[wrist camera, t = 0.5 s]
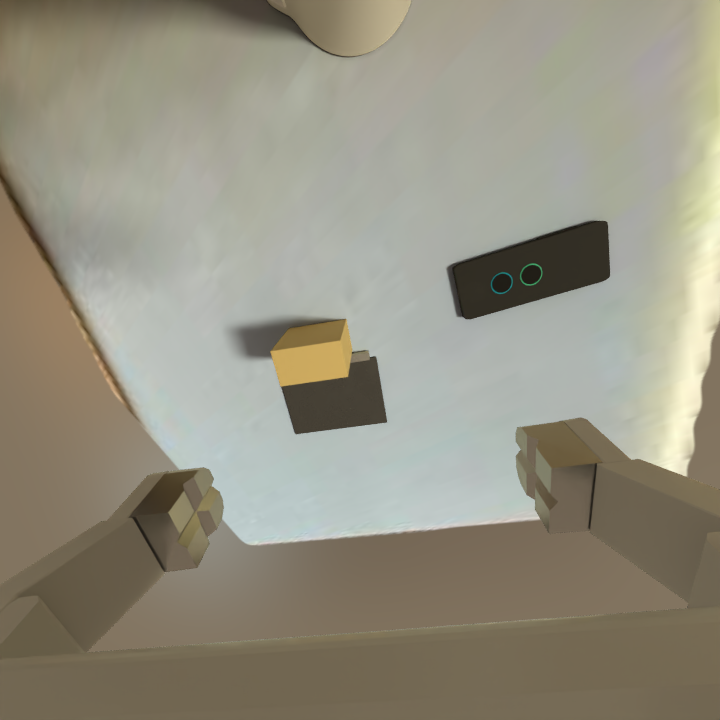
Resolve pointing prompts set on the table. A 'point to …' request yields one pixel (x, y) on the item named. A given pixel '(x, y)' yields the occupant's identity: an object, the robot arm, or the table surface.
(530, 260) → the smart home device
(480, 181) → the table surface
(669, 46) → the table surface
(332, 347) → the mustard block
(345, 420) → the topple stop
